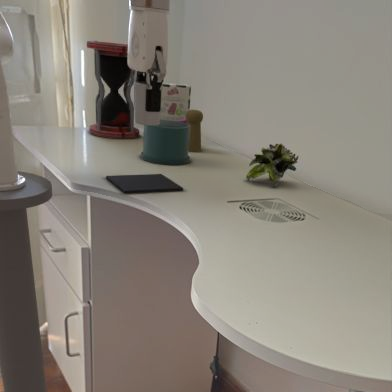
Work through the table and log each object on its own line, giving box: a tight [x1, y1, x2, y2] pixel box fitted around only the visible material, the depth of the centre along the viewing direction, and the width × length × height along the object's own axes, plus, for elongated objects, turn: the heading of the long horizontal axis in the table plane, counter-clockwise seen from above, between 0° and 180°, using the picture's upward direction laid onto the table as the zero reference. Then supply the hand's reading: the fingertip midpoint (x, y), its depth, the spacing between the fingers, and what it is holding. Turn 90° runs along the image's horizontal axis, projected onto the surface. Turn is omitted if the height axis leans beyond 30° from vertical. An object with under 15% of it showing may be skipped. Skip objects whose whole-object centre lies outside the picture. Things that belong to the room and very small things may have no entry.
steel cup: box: [133, 81, 160, 126], centre depth 98 cm, size 5×5×8 cm
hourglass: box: [86, 40, 140, 139], centre depth 147 cm, size 16×16×25 cm
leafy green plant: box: [245, 143, 299, 188], centre depth 116 cm, size 11×11×12 cm
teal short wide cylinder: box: [140, 120, 191, 166], centre depth 128 cm, size 14×14×9 cm
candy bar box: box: [160, 82, 192, 124], centre depth 147 cm, size 11×5×16 cm, turn 104°
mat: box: [105, 173, 184, 194], centre depth 107 cm, size 14×12×1 cm
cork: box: [186, 109, 204, 153], centre depth 141 cm, size 6×6×11 cm
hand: (147, 108), depth 98 cm, fingers closed on steel cup, 5 cm apart
